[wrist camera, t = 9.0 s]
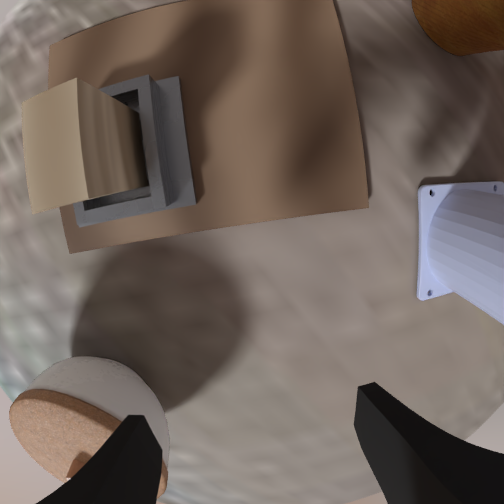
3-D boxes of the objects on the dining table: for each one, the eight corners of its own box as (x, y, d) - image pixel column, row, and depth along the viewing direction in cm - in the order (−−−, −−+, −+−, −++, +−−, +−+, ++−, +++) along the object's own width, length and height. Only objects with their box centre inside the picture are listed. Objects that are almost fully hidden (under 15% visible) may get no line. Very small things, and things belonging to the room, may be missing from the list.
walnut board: (326, -2, 13) (330, -7, 13) (363, 206, 17) (368, 207, 16) (55, 49, 13) (49, 45, 12) (75, 250, 17) (69, 253, 16)
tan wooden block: (138, 112, 14) (76, 77, 7) (148, 186, 15) (88, 198, 8) (98, 124, 14) (21, 102, 7) (108, 195, 15) (32, 214, 8)
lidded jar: (39, 324, 18) (-31, 396, 9) (169, 333, 19) (133, 444, 9) (78, 424, 21) (44, 498, 12) (189, 438, 21) (179, 531, 12)
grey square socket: (180, 79, 14) (171, 63, 11) (197, 203, 16) (191, 209, 13) (68, 111, 14) (45, 104, 11) (83, 225, 16) (61, 235, 13)
